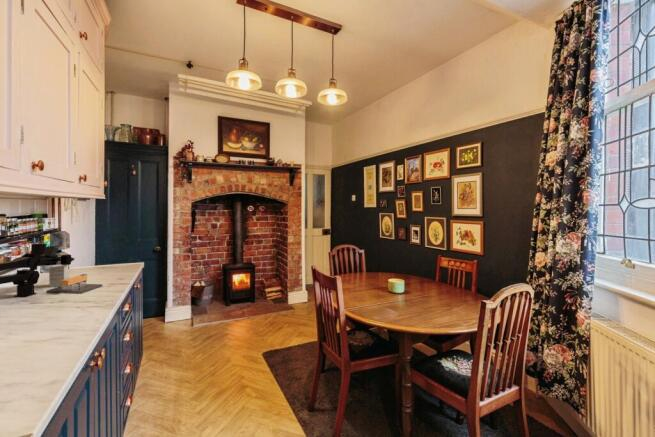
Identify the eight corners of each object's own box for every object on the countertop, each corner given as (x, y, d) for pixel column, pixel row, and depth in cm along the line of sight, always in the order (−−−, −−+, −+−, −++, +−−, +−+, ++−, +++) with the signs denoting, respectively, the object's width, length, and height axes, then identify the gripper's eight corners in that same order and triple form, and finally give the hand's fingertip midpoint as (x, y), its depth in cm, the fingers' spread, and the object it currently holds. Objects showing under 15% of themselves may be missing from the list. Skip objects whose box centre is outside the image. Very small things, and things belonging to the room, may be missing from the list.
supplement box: (53, 284, 187) (53, 264, 186) (68, 283, 190) (68, 264, 189) (48, 287, 180) (48, 266, 180) (64, 286, 183) (64, 266, 183)
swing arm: (82, 279, 186) (82, 274, 186) (89, 279, 186) (89, 274, 186) (60, 285, 170) (60, 279, 170) (67, 285, 170) (67, 280, 170)
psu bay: (82, 293, 171) (82, 286, 170) (46, 292, 170) (46, 285, 170) (102, 286, 187) (102, 279, 186) (70, 285, 186) (70, 279, 186)
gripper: (59, 246, 174) (81, 246, 189) (28, 247, 174) (53, 246, 190) (58, 265, 173) (81, 263, 188) (27, 266, 173) (52, 264, 189)
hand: (67, 259), depth 189 cm, fingers open, 9 cm apart
